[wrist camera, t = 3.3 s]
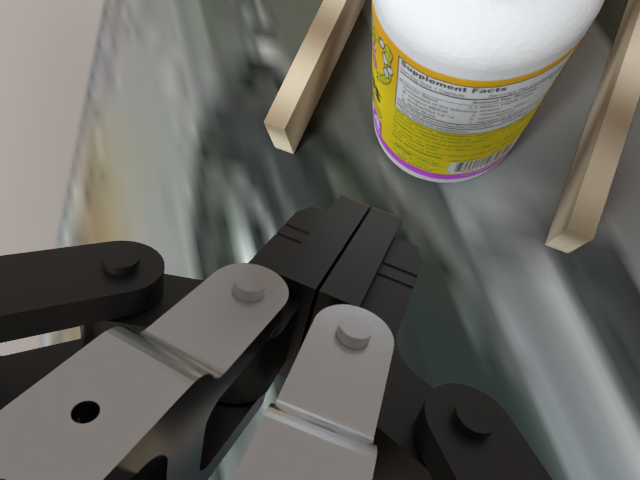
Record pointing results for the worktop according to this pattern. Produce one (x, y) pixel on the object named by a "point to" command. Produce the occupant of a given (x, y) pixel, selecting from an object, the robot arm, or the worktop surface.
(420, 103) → the supplement bottle
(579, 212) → the wooden frame stand
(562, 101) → the worktop surface
